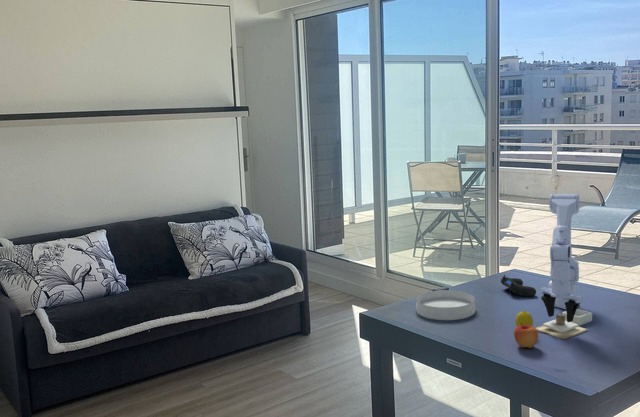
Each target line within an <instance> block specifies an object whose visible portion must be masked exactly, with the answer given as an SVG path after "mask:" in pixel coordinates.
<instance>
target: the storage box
mask: <svg viewBox="0 0 640 417" xmlns="http://www.w3.org/2000/svg"><path fill="white" fill-rule="evenodd" d="M561 314H563V315H565V321H567V311H566V310H565V311H562V312H561ZM590 322H593V312H591V311H587V310H583V309H581V308H577V310H576V312H575V315H574V318H573V321H572V323H575V324H578V327H581V326H582V325H585V324H589V323H590Z"/></svg>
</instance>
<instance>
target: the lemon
mask: <svg viewBox="0 0 640 417" xmlns="http://www.w3.org/2000/svg"><path fill="white" fill-rule="evenodd" d="M515 317H516V318H515V326H516V327H517V326H519V325H521V323H522V325H530V326H533V327H534V320H533V316H532V315H531V313H530V312H528V311H526V310H522V311H520V312H518V313H517V314H516V316H515ZM516 327H515V328H516Z"/></svg>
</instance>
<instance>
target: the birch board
mask: <svg viewBox="0 0 640 417" xmlns="http://www.w3.org/2000/svg"><path fill="white" fill-rule="evenodd" d="M535 328H536V329H537V331H538V333H542V334H546V335H549V336H552V337H555V338H558V339H560V340H563V341H565V340H567V339H570V338H572V337H575V336H577V335H580V334H583V333H586V332H588V329H587V328H584V327H581V326H578V327H576V328H573V329H571V330H568V331H566V332H563V333H562V332H559V331H555V330H552V329H549V328H547V327H544V326H543V324H542V325H539V326H537V327H535Z"/></svg>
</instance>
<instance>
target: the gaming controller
mask: <svg viewBox="0 0 640 417" xmlns="http://www.w3.org/2000/svg"><path fill="white" fill-rule="evenodd" d="M500 284H501V285H503V286H505V287H506V288H508V290H510V291H511V292H513V293H514V294H515V295H519V296H525V297H530V298H531V297H535V295H536V294H537V290H536V288H535V287H532V286H529V285H528V286H527V285H523V284H524V282H523V280H522V279H521V278H517V277H515V278H511V277H508V276H506V274H504V275H503V276H502V278H501V279H500Z"/></svg>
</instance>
